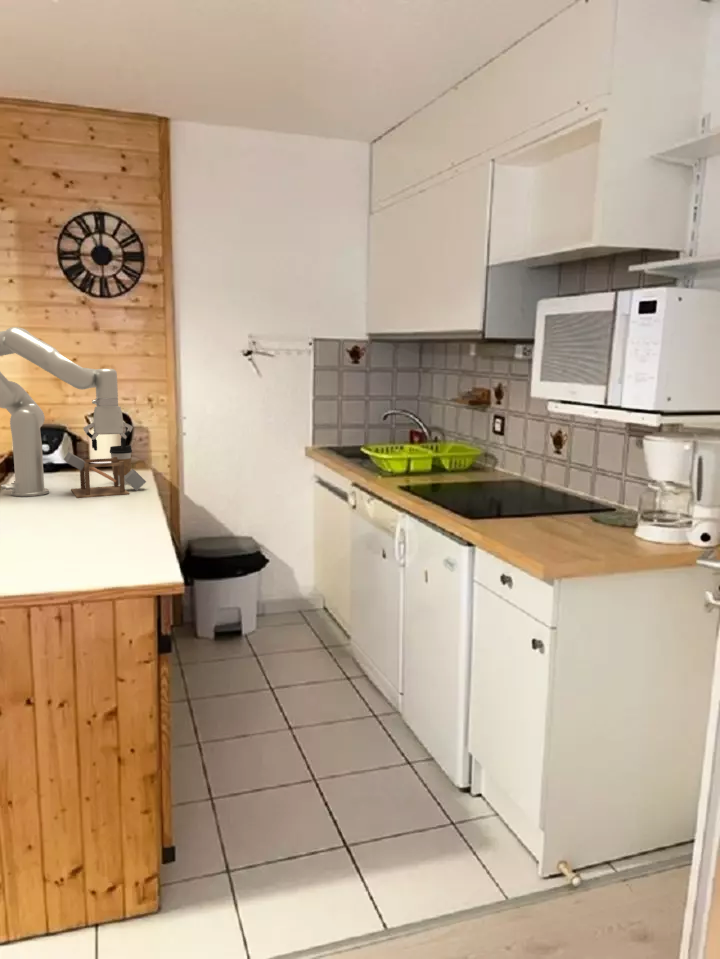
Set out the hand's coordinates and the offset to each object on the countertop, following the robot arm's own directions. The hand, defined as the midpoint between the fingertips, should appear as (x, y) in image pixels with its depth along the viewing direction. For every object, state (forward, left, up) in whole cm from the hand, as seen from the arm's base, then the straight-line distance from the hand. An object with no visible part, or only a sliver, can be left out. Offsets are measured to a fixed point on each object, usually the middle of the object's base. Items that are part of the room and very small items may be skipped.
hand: (109, 449), depth 275 cm
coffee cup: (+7, +17, -16) cm, 24 cm away
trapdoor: (-8, 0, -8) cm, 11 cm away
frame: (-4, 0, -16) cm, 16 cm away
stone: (+7, 0, -10) cm, 12 cm away
